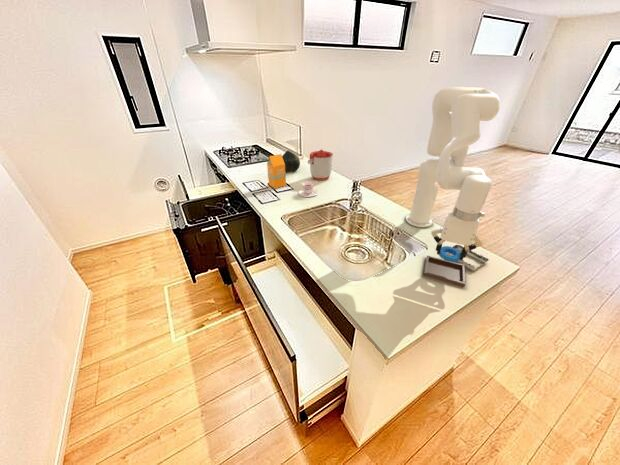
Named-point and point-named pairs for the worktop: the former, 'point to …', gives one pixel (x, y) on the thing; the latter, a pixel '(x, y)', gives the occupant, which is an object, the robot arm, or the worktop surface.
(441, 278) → the tray
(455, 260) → the ring
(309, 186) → the teacup
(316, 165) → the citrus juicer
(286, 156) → the squash
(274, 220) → the worktop surface
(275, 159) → the orange juice
